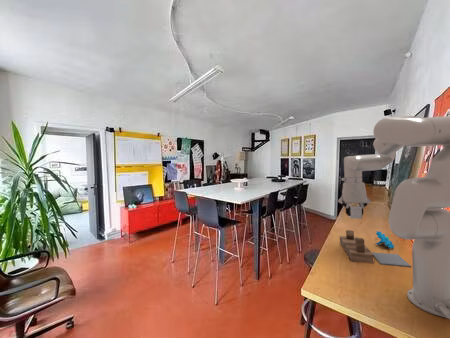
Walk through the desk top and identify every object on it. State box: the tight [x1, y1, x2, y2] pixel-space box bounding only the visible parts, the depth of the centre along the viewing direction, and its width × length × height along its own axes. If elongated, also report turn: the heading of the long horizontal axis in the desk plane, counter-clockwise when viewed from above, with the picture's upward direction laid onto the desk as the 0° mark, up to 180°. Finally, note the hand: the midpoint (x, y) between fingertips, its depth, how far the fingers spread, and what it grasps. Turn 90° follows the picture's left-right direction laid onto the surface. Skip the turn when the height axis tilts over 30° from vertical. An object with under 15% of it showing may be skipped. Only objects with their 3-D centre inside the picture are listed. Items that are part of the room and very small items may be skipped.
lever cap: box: [348, 203, 363, 220], centre depth 102 cm, size 6×5×7 cm
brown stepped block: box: [339, 229, 375, 264], centre depth 103 cm, size 22×9×10 cm, turn 162°
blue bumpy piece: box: [375, 230, 395, 249], centre depth 108 cm, size 11×6×10 cm
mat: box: [371, 251, 412, 268], centre depth 93 cm, size 11×11×1 cm
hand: (354, 215), depth 102 cm, fingers closed on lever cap, 4 cm apart
